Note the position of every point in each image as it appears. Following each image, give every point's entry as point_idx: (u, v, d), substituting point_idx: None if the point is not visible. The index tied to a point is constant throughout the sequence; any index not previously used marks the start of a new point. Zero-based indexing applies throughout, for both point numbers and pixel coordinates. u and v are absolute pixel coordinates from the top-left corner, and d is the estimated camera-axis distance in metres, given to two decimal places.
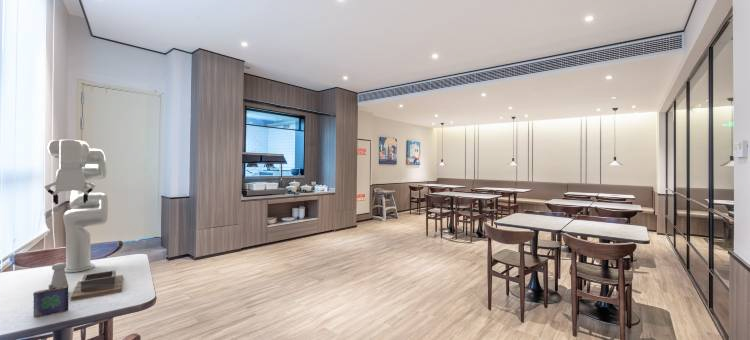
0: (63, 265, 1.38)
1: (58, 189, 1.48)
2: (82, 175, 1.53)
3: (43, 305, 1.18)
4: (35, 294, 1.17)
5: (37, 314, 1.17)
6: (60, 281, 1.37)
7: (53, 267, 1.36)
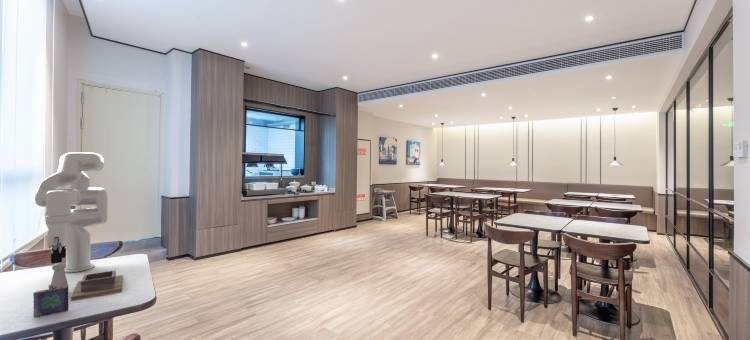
0: (63, 265, 1.38)
1: (63, 245, 1.36)
2: None
3: (43, 305, 1.18)
4: (35, 294, 1.17)
5: (37, 314, 1.17)
6: (60, 281, 1.37)
7: (53, 267, 1.36)
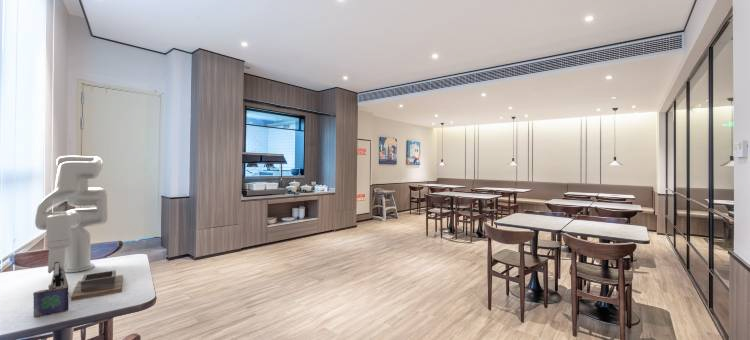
0: None
1: (63, 269, 1.36)
2: None
3: (43, 305, 1.18)
4: (35, 294, 1.17)
5: (37, 314, 1.17)
6: None
7: None
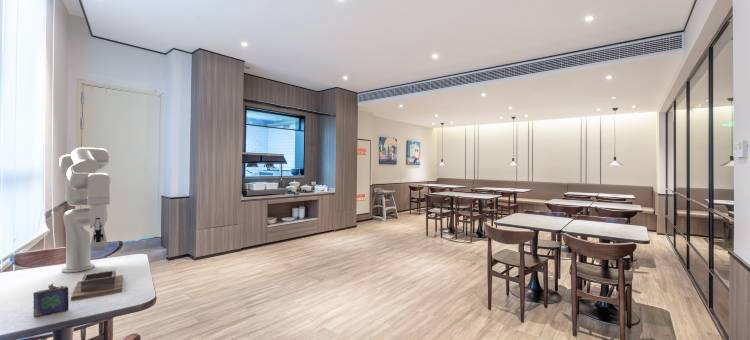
0: None
1: (103, 225, 1.43)
2: None
3: (43, 305, 1.18)
4: (35, 294, 1.17)
5: (37, 314, 1.17)
6: None
7: None
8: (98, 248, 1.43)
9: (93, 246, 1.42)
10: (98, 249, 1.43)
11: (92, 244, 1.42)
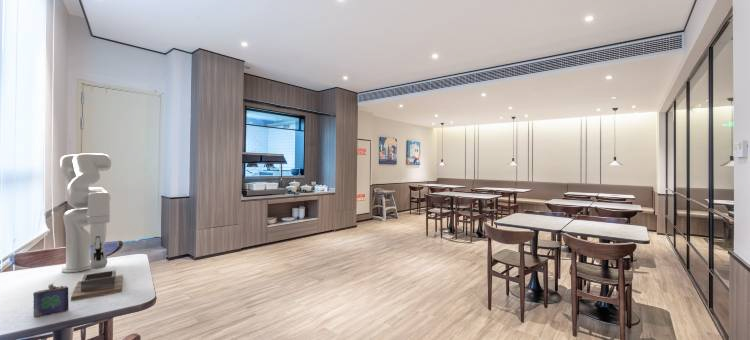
0: None
1: (104, 243, 1.43)
2: None
3: (43, 305, 1.18)
4: (35, 294, 1.17)
5: (37, 314, 1.17)
6: None
7: None
8: (98, 266, 1.43)
9: (93, 264, 1.42)
10: (98, 267, 1.43)
11: (92, 262, 1.42)
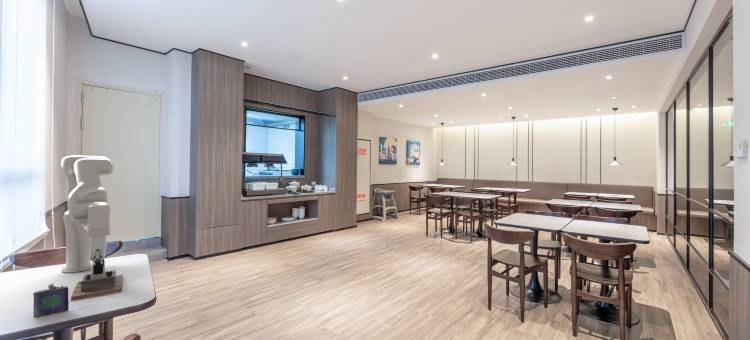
0: None
1: (104, 256, 1.43)
2: None
3: (43, 305, 1.18)
4: (35, 294, 1.17)
5: (37, 314, 1.17)
6: None
7: (92, 259, 1.43)
8: None
9: None
10: None
11: None
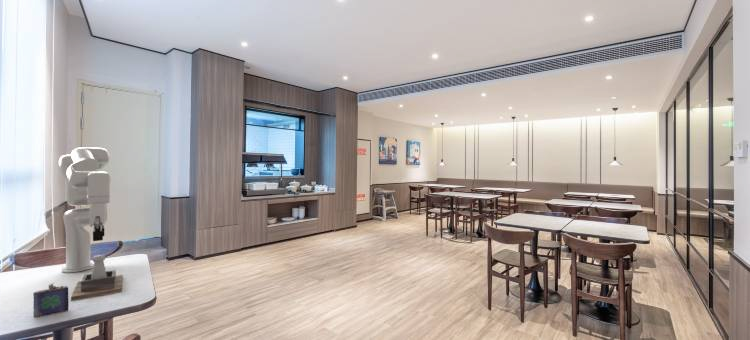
0: (102, 257, 1.45)
1: (103, 224, 1.43)
2: None
3: (43, 305, 1.18)
4: (35, 294, 1.17)
5: (37, 314, 1.17)
6: (100, 272, 1.44)
7: (93, 259, 1.43)
8: None
9: None
10: None
11: None
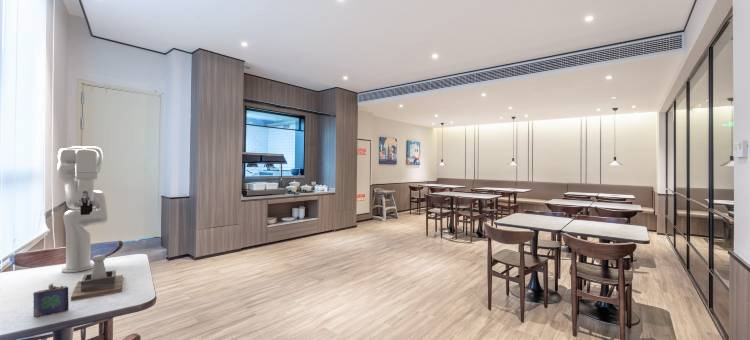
0: (102, 257, 1.45)
1: (91, 199, 1.49)
2: None
3: (43, 305, 1.18)
4: (35, 294, 1.17)
5: (37, 314, 1.17)
6: (100, 272, 1.44)
7: (93, 259, 1.43)
8: None
9: None
10: None
11: None
